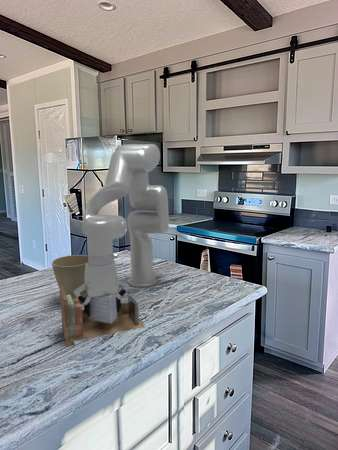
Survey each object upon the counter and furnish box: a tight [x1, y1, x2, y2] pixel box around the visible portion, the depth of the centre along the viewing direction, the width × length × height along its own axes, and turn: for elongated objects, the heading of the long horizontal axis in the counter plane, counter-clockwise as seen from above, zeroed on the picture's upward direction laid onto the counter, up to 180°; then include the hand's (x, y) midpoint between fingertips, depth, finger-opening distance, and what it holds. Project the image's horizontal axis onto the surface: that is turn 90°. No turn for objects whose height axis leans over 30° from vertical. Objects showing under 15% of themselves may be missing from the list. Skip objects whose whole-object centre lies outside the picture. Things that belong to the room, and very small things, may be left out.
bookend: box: [127, 295, 140, 325], centre depth 116 cm, size 1×8×7 cm, turn 23°
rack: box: [58, 286, 146, 347], centre depth 111 cm, size 24×12×14 cm, turn 113°
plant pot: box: [51, 254, 88, 303], centre depth 135 cm, size 15×15×16 cm
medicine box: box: [89, 294, 117, 323], centre depth 111 cm, size 8×4×9 cm, turn 70°
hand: (102, 312), depth 111 cm, fingers closed on medicine box, 8 cm apart
